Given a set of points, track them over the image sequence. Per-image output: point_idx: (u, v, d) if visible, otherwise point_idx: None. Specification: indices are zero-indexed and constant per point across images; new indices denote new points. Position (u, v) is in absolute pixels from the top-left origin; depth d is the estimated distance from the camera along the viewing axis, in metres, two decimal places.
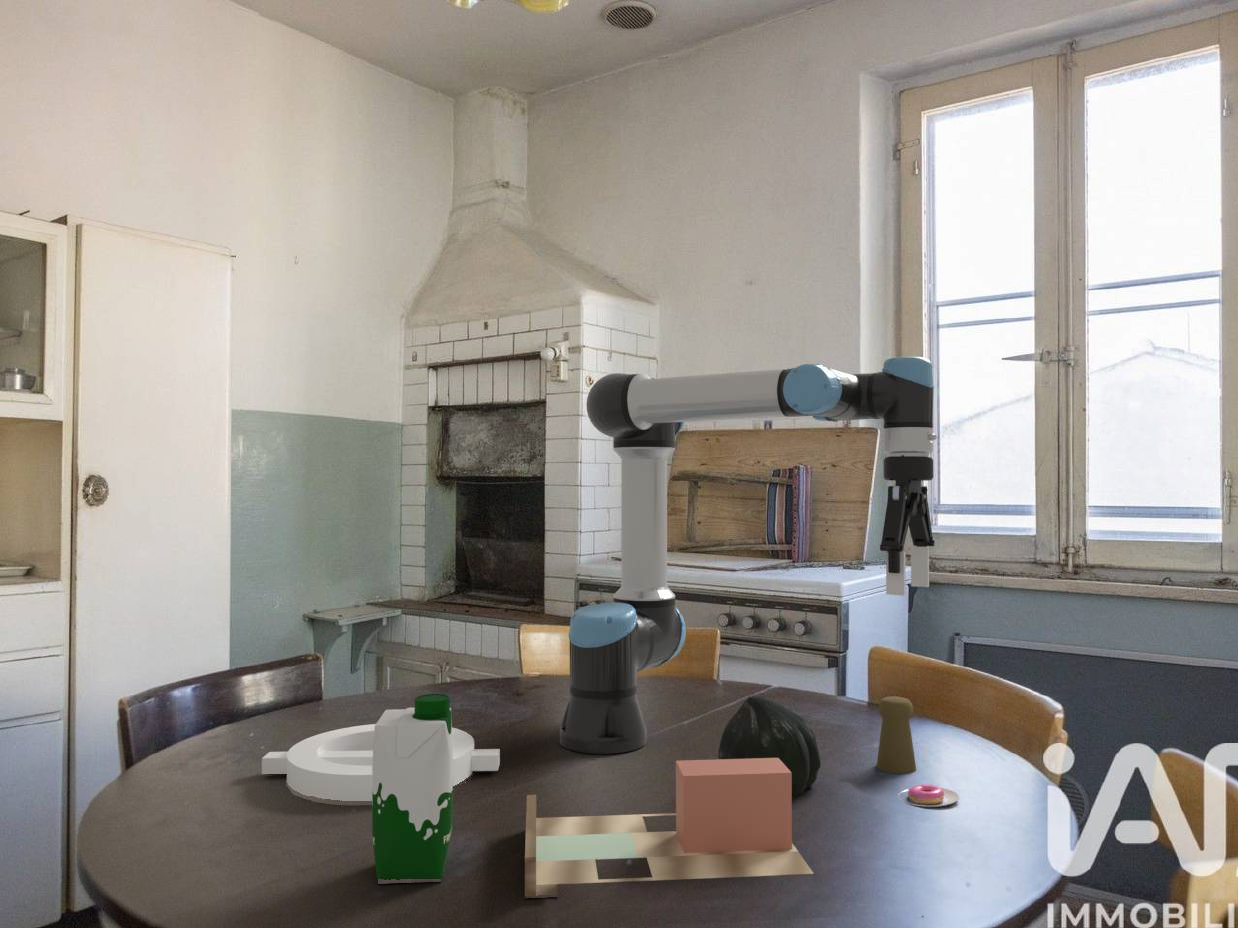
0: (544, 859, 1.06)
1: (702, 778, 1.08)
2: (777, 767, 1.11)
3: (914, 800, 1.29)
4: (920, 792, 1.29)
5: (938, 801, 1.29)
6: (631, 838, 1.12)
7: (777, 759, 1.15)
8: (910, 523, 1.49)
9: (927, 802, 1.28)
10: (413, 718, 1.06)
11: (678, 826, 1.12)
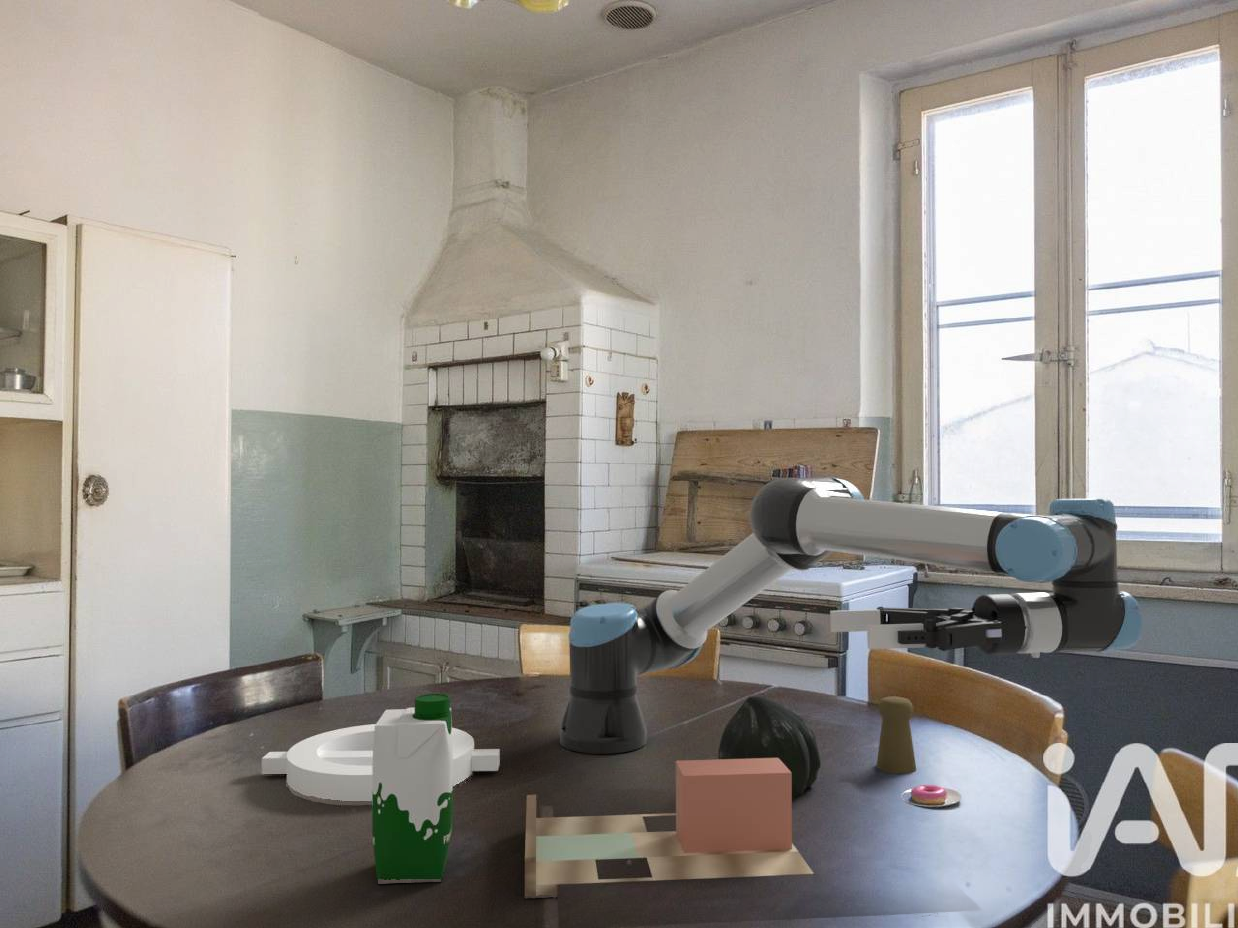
0: (544, 859, 1.06)
1: (702, 778, 1.08)
2: (777, 767, 1.11)
3: (917, 800, 1.29)
4: (923, 792, 1.29)
5: (941, 801, 1.28)
6: (631, 838, 1.12)
7: (777, 759, 1.15)
8: (915, 615, 1.19)
9: (930, 802, 1.28)
10: (413, 718, 1.06)
11: (678, 826, 1.12)
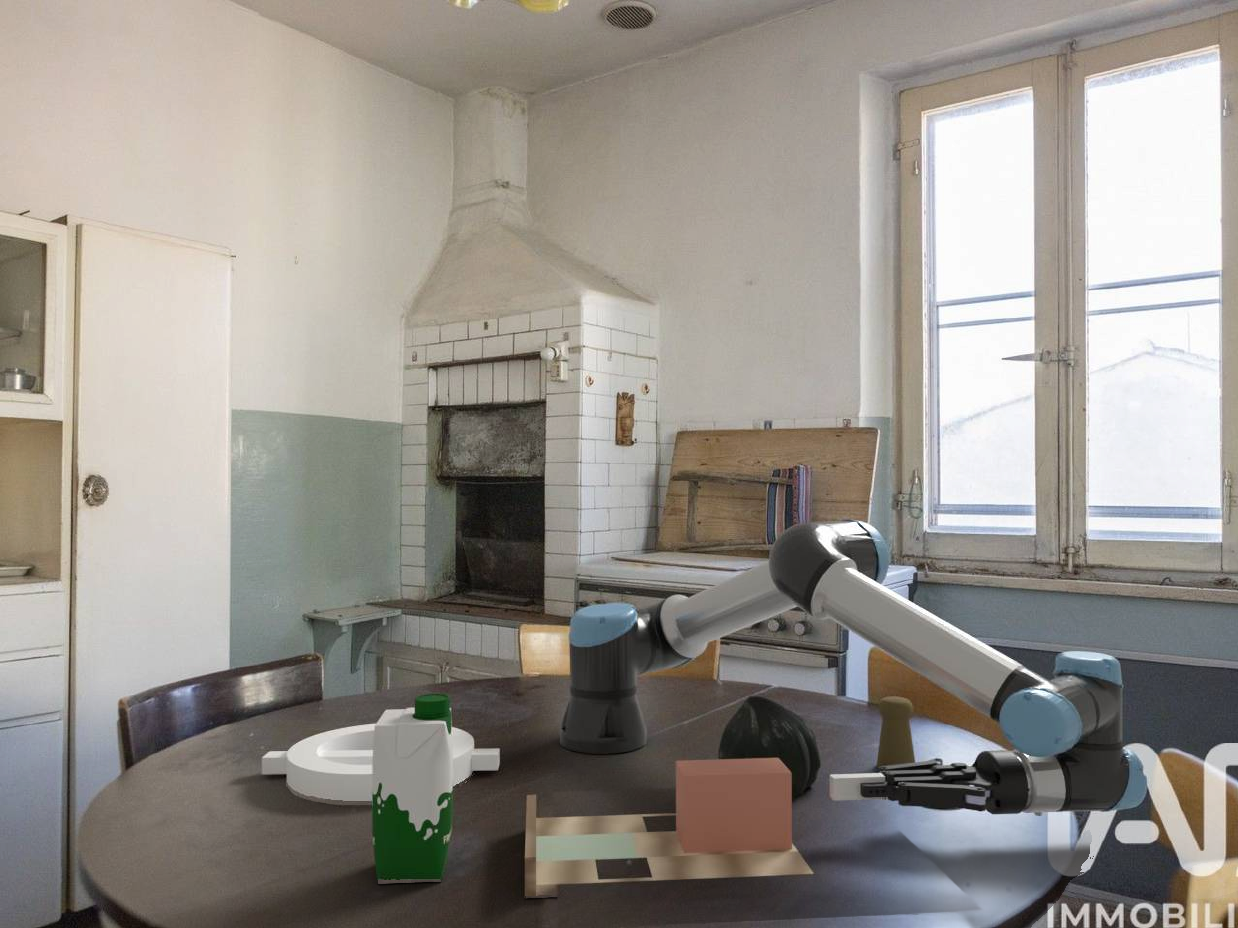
0: (544, 859, 1.06)
1: (702, 778, 1.08)
2: (777, 767, 1.11)
3: None
4: None
5: None
6: (631, 838, 1.12)
7: (777, 759, 1.15)
8: (922, 775, 1.15)
9: None
10: (413, 718, 1.06)
11: (678, 826, 1.12)
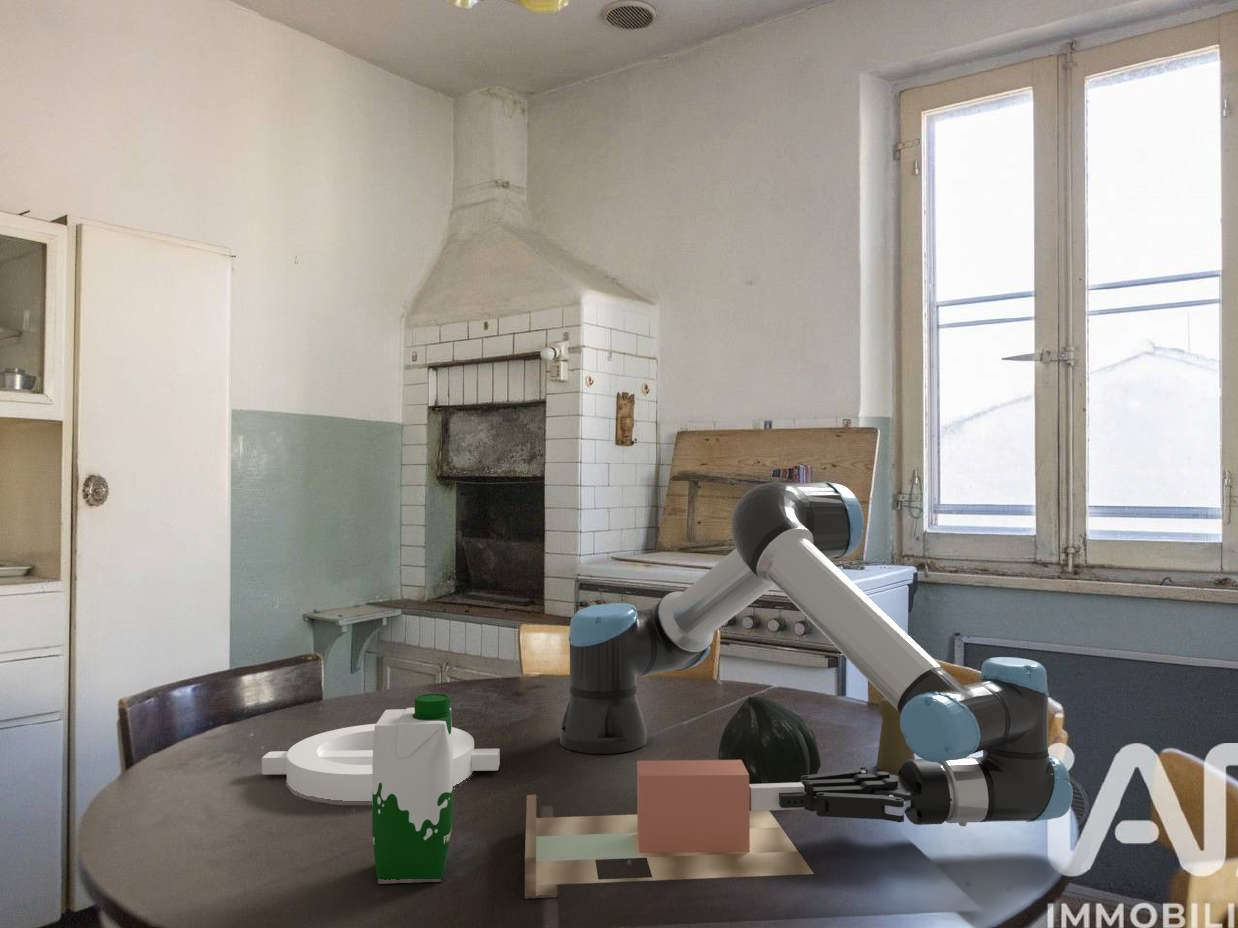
0: (544, 859, 1.06)
1: (658, 778, 1.08)
2: (736, 769, 1.10)
3: None
4: None
5: None
6: (631, 838, 1.12)
7: (739, 761, 1.14)
8: (844, 785, 1.12)
9: None
10: (413, 718, 1.06)
11: None
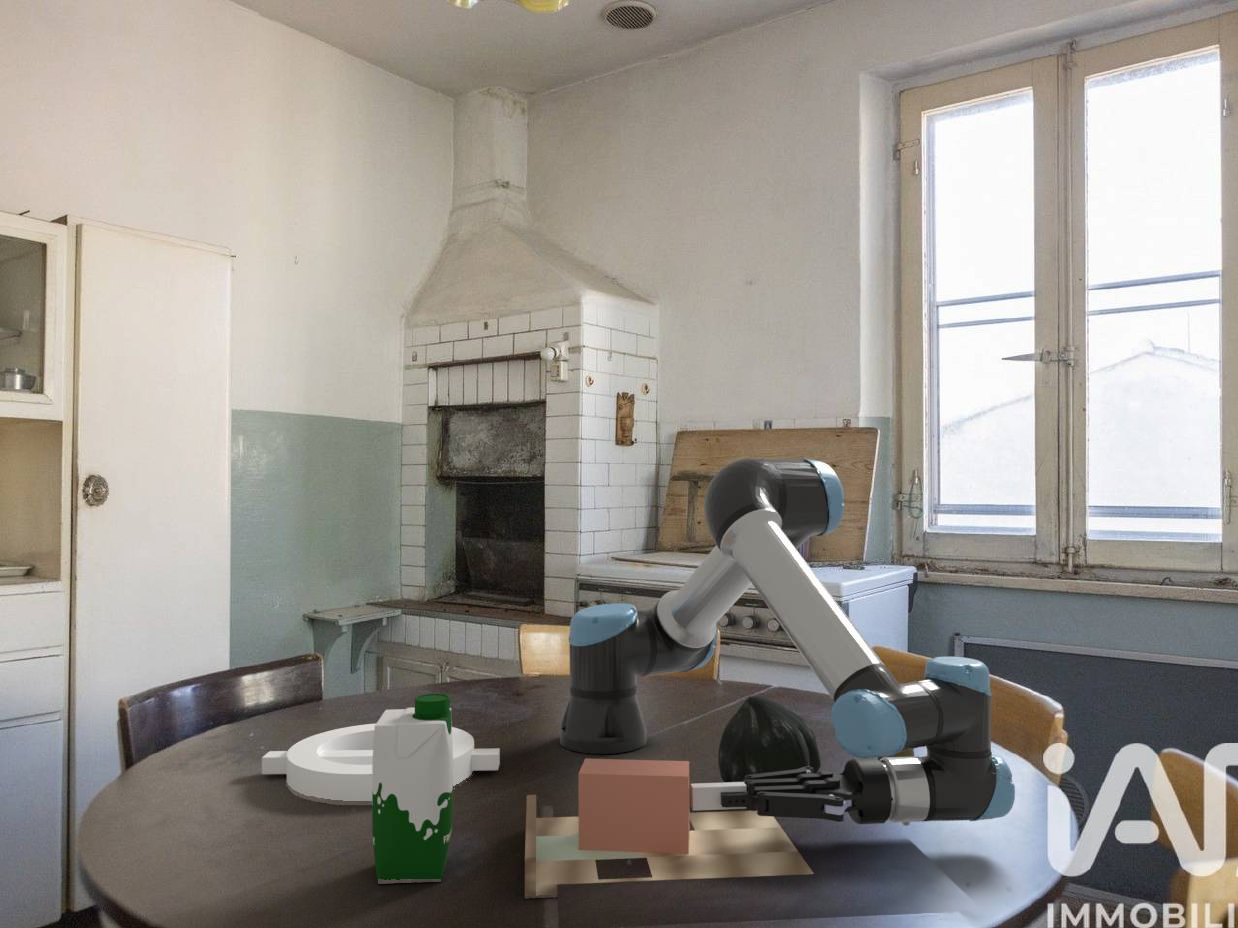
0: (544, 859, 1.06)
1: (597, 776, 1.09)
2: (678, 771, 1.10)
3: None
4: None
5: None
6: None
7: (686, 762, 1.13)
8: (787, 784, 1.12)
9: None
10: (413, 718, 1.06)
11: None
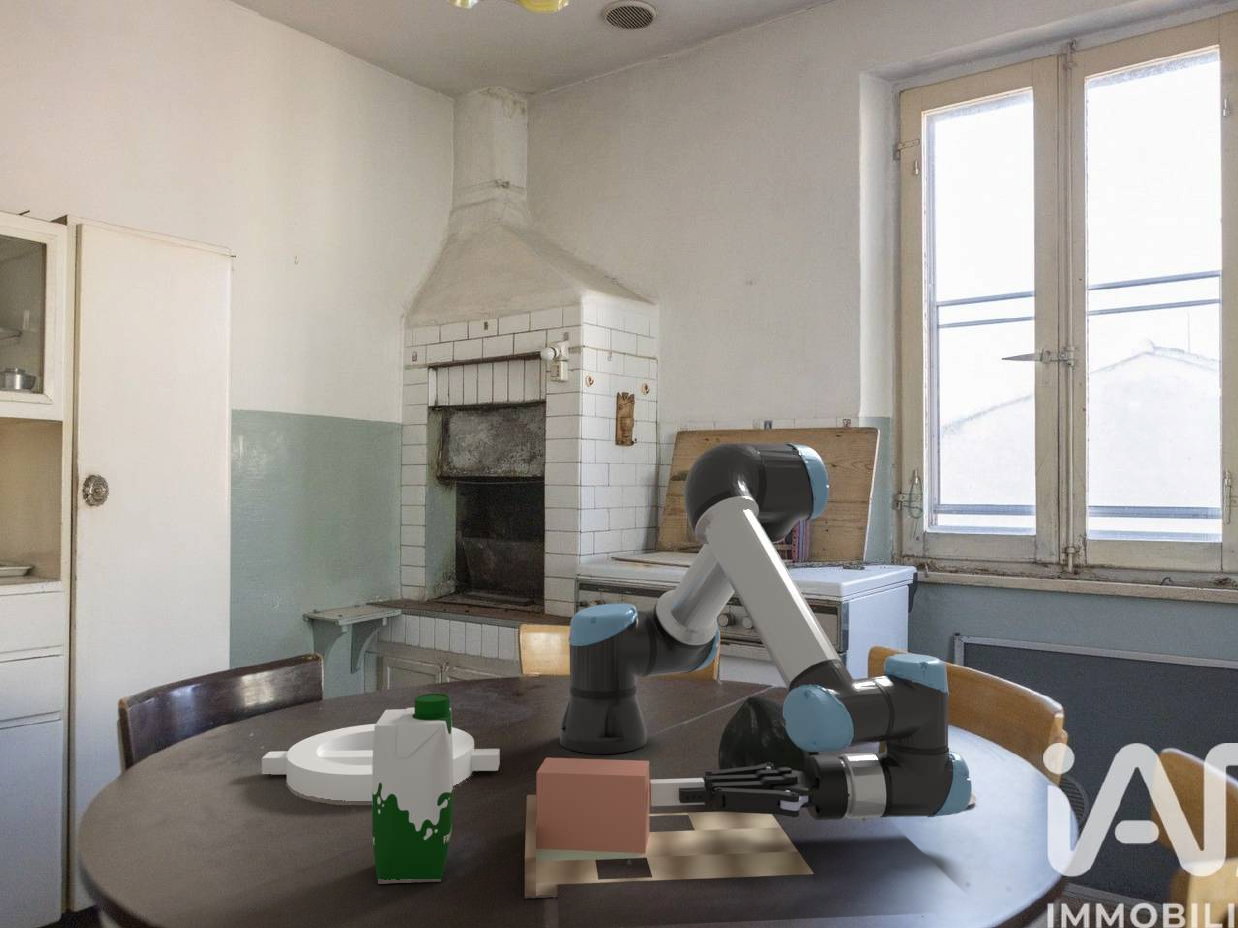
0: (544, 859, 1.06)
1: (555, 775, 1.09)
2: (636, 770, 1.10)
3: None
4: None
5: None
6: None
7: (646, 762, 1.13)
8: (745, 780, 1.13)
9: None
10: (413, 718, 1.06)
11: None
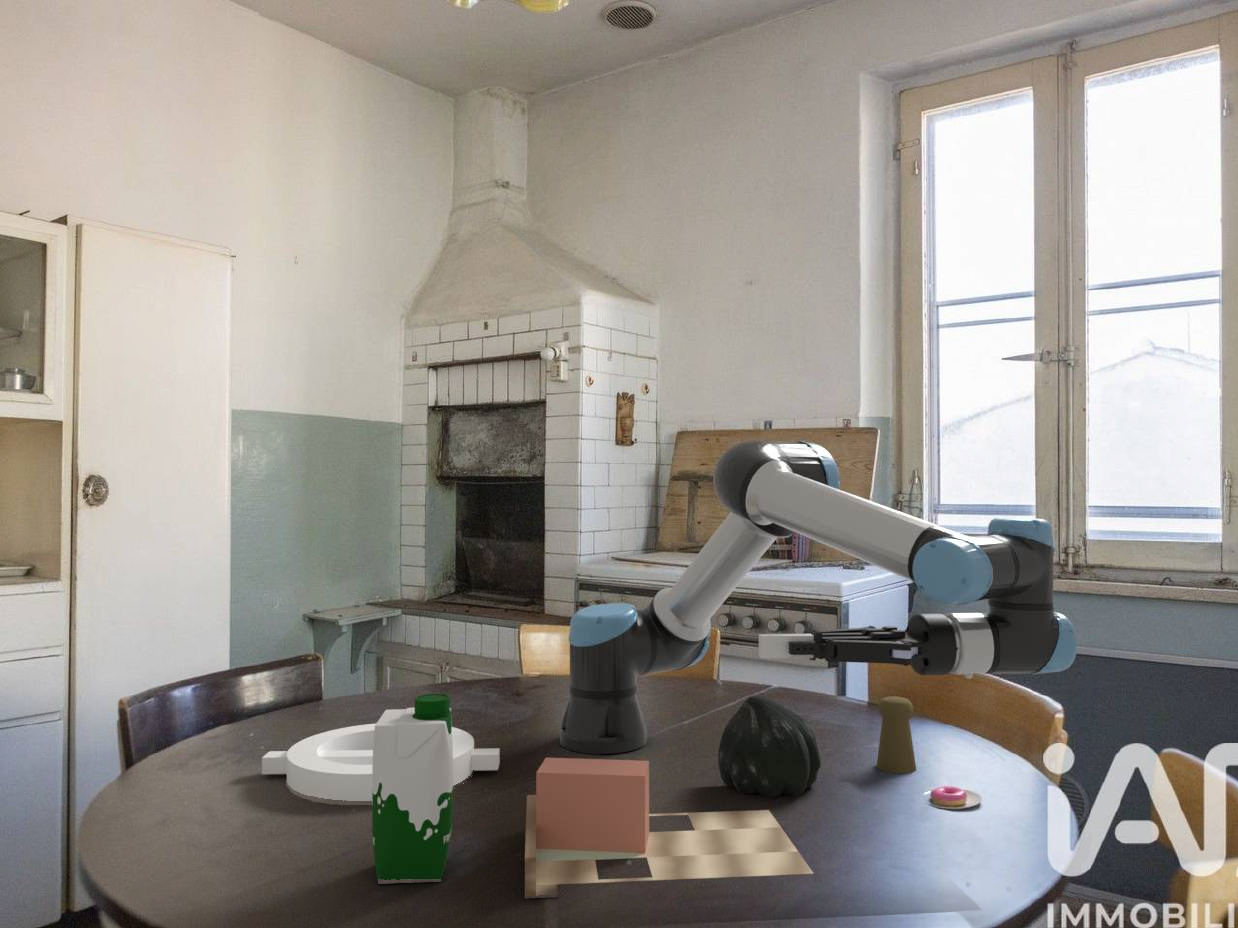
0: (544, 859, 1.06)
1: (554, 775, 1.09)
2: (636, 770, 1.10)
3: (937, 802, 1.29)
4: (943, 794, 1.28)
5: (961, 803, 1.28)
6: None
7: (646, 762, 1.13)
8: (852, 637, 1.14)
9: (950, 804, 1.28)
10: (413, 718, 1.06)
11: None
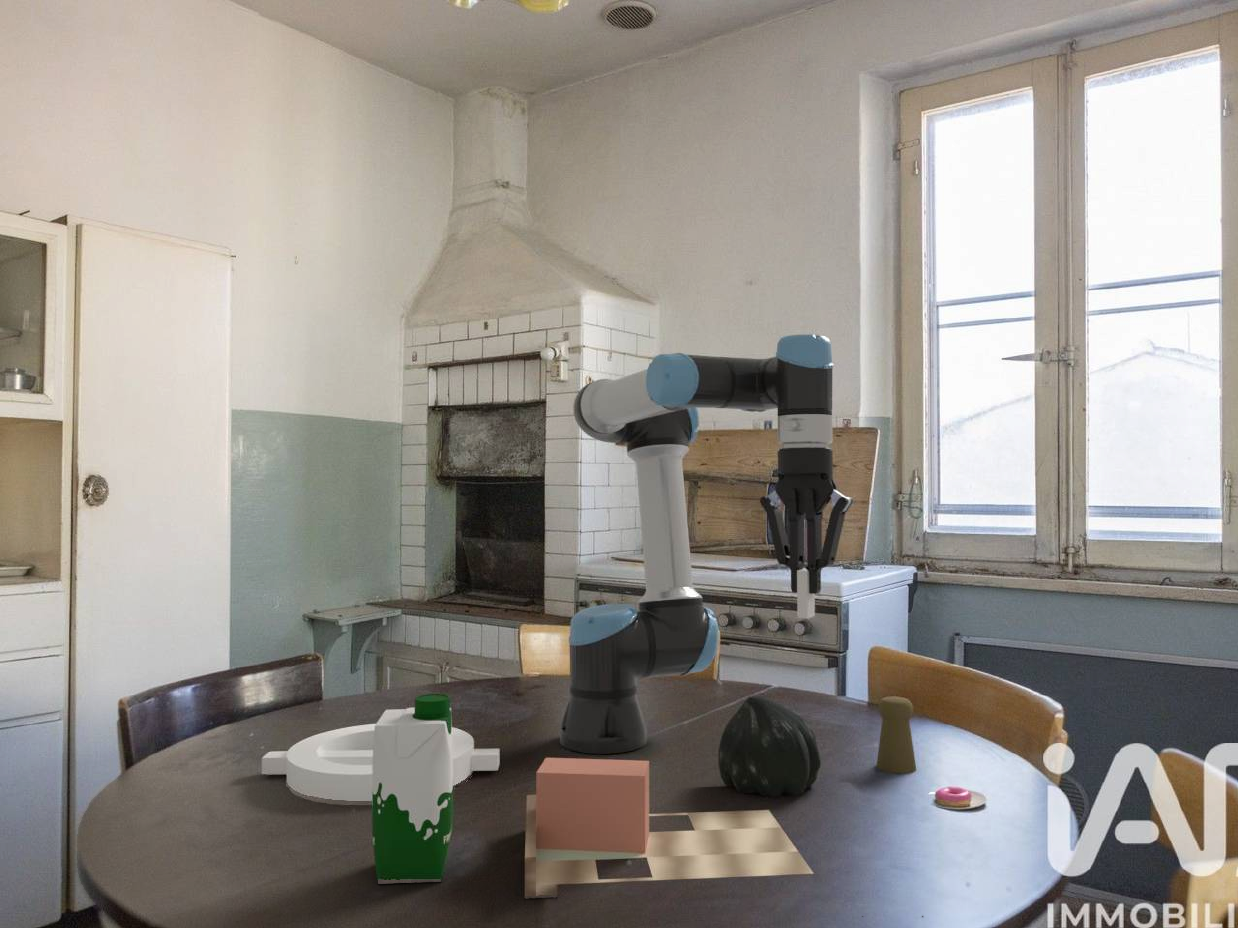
0: (544, 859, 1.06)
1: (554, 775, 1.09)
2: (636, 770, 1.10)
3: (942, 803, 1.28)
4: (948, 794, 1.28)
5: (966, 803, 1.28)
6: None
7: (646, 762, 1.13)
8: None
9: (955, 804, 1.27)
10: (413, 718, 1.06)
11: None
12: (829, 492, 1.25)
